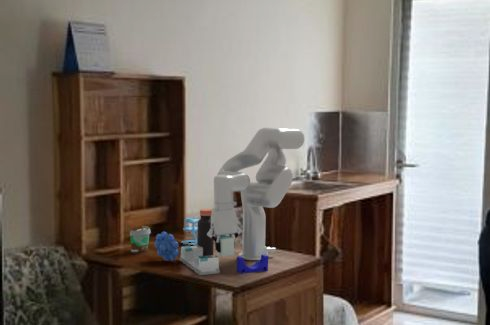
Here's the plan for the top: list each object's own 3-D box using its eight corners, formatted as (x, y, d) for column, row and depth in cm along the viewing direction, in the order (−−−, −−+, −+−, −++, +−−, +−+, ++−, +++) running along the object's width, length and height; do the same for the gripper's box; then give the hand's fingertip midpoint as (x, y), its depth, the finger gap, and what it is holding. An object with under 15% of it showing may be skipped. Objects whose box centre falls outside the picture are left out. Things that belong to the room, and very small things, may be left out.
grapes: (148, 261, 291) (148, 232, 290) (157, 258, 297) (157, 229, 296) (173, 264, 286) (173, 235, 284) (181, 261, 292) (182, 232, 290)
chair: (205, 243, 327) (206, 217, 326) (192, 246, 321) (193, 219, 320) (193, 240, 332) (194, 215, 331) (180, 243, 326) (181, 217, 325)
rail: (198, 259, 296) (198, 244, 295) (219, 273, 274) (219, 257, 273) (180, 260, 293) (180, 246, 292) (199, 275, 271) (199, 259, 270)
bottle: (216, 258, 299) (216, 210, 297) (201, 259, 296) (201, 211, 294) (209, 254, 305) (209, 208, 303) (194, 256, 302) (195, 209, 300)
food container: (142, 255, 301) (142, 231, 300) (129, 254, 303) (129, 230, 302) (155, 249, 313) (155, 226, 312) (142, 248, 315) (142, 225, 314)
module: (227, 250, 290) (227, 232, 289) (234, 255, 284) (233, 236, 282) (216, 252, 288) (215, 234, 287) (222, 257, 282) (222, 238, 281)
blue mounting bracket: (262, 268, 284) (263, 253, 283) (267, 271, 280) (268, 255, 279) (235, 271, 279) (235, 256, 278) (240, 273, 275) (240, 258, 274)
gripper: (240, 202, 290) (241, 245, 292) (200, 206, 283) (201, 251, 286) (247, 205, 283) (248, 250, 286) (206, 210, 276) (208, 255, 279)
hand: (225, 250), depth 286 cm, fingers closed on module, 5 cm apart
